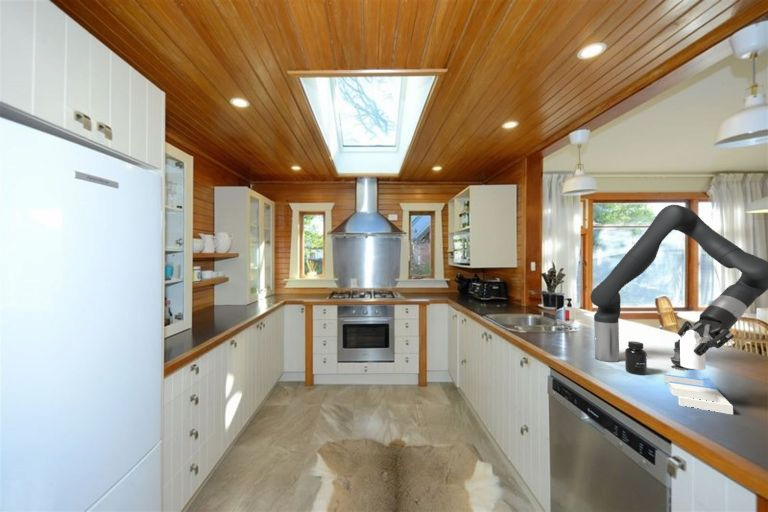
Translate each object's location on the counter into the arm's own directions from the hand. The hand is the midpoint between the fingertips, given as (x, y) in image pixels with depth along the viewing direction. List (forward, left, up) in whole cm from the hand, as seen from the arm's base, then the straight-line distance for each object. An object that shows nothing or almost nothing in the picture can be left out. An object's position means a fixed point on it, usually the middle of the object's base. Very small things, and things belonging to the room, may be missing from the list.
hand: (687, 350), depth 103 cm
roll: (+1, +1, -5) cm, 6 cm away
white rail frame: (+2, +7, -17) cm, 18 cm away
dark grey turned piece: (+5, +41, -17) cm, 44 cm away
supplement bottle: (-11, +26, -17) cm, 33 cm away
